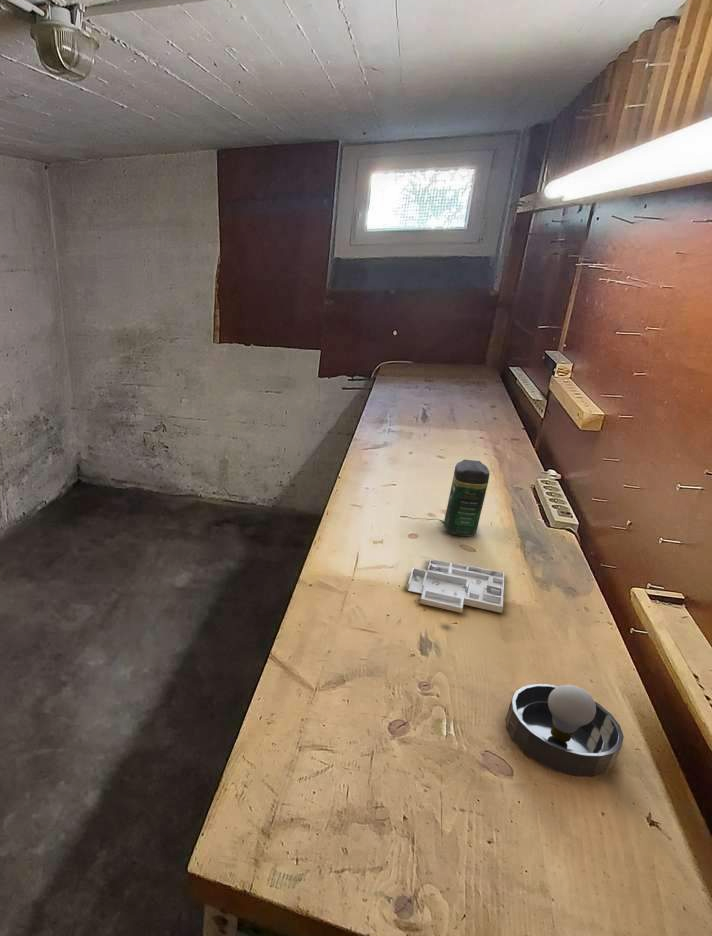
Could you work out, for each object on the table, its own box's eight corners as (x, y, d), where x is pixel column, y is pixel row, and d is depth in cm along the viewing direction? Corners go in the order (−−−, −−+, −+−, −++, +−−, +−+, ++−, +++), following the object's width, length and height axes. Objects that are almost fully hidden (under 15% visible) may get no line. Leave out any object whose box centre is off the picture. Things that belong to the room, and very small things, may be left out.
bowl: (558, 699, 95) (566, 676, 93) (637, 768, 83) (648, 744, 80) (484, 715, 93) (491, 692, 90) (554, 789, 80) (564, 765, 78)
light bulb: (544, 751, 85) (562, 702, 81) (531, 721, 90) (547, 674, 86) (588, 757, 84) (608, 708, 79) (573, 727, 89) (591, 679, 85)
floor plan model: (399, 615, 117) (401, 608, 116) (415, 559, 137) (417, 552, 136) (501, 640, 109) (504, 632, 108) (503, 576, 128) (505, 569, 127)
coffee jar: (478, 539, 144) (493, 472, 136) (444, 535, 146) (457, 469, 138) (474, 522, 152) (488, 458, 144) (442, 519, 155) (454, 456, 146)
